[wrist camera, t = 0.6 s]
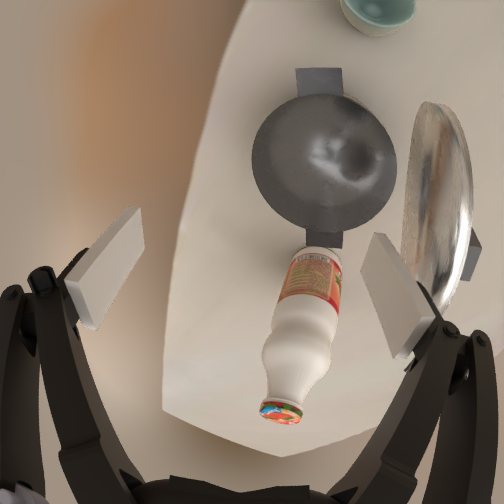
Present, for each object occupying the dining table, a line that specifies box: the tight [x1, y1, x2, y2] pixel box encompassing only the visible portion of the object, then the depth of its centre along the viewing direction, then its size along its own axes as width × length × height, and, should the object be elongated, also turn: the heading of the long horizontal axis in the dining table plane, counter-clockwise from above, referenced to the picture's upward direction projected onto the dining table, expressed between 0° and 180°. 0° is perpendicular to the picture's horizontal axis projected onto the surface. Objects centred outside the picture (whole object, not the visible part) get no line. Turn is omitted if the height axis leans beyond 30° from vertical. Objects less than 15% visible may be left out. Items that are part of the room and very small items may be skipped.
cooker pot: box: [252, 68, 397, 249], centre depth 31 cm, size 15×20×12 cm
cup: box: [339, 0, 416, 37], centre depth 18 cm, size 8×8×10 cm
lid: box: [400, 102, 482, 316], centre depth 16 cm, size 16×16×3 cm
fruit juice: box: [259, 246, 342, 424], centre depth 38 cm, size 9×9×28 cm
